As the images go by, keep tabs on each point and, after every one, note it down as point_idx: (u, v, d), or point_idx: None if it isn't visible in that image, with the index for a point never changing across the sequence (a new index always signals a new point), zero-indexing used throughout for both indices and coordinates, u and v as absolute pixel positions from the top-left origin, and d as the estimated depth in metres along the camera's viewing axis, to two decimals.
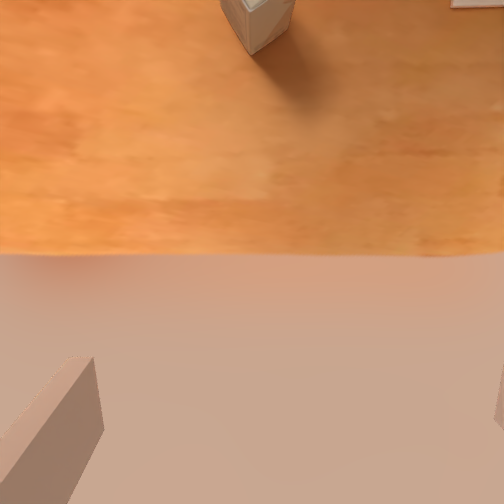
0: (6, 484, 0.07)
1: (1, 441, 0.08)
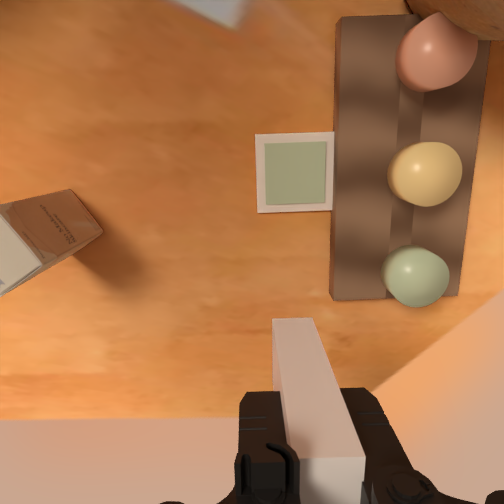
0: None
1: (282, 371, 0.11)
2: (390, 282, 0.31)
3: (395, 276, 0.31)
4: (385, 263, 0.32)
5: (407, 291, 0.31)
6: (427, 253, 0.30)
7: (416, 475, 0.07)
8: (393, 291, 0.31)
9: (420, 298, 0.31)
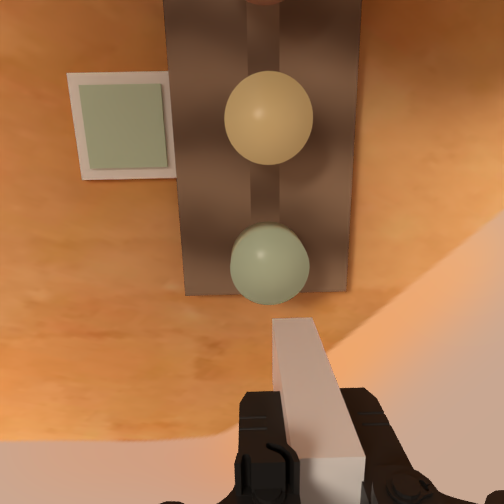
0: None
1: (283, 371, 0.11)
2: (230, 271, 0.23)
3: (235, 262, 0.23)
4: (233, 246, 0.24)
5: (254, 283, 0.23)
6: (276, 231, 0.22)
7: (416, 475, 0.07)
8: (235, 283, 0.23)
9: (272, 293, 0.23)
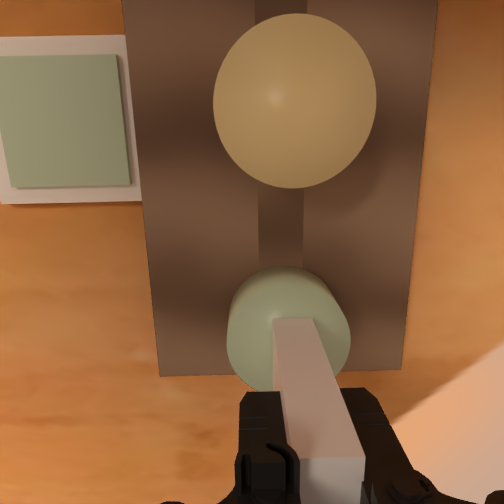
0: None
1: (283, 371, 0.11)
2: (227, 347, 0.15)
3: (235, 335, 0.14)
4: (232, 303, 0.16)
5: (263, 365, 0.15)
6: (299, 288, 0.14)
7: (416, 475, 0.07)
8: (234, 365, 0.15)
9: None
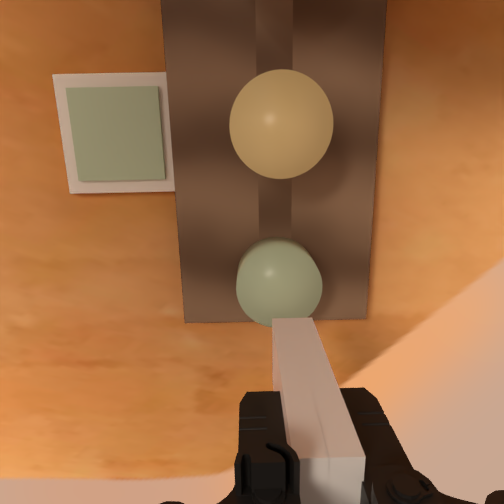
0: None
1: (282, 371, 0.11)
2: (236, 290, 0.21)
3: (242, 282, 0.21)
4: (239, 263, 0.23)
5: (262, 304, 0.21)
6: (286, 248, 0.20)
7: (416, 475, 0.07)
8: (241, 304, 0.21)
9: (281, 315, 0.21)
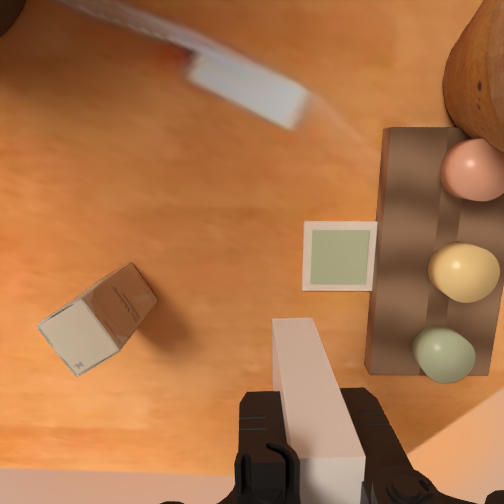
0: None
1: (282, 371, 0.11)
2: (422, 360, 0.34)
3: (427, 355, 0.34)
4: (416, 340, 0.36)
5: (437, 369, 0.34)
6: (456, 337, 0.34)
7: (416, 475, 0.07)
8: (424, 368, 0.34)
9: (448, 376, 0.35)
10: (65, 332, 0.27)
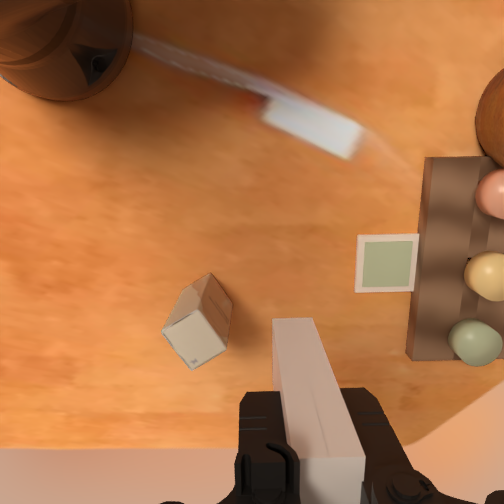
0: None
1: (283, 371, 0.11)
2: (458, 348, 0.42)
3: (463, 344, 0.42)
4: (452, 331, 0.43)
5: (471, 354, 0.42)
6: (487, 328, 0.41)
7: (416, 475, 0.07)
8: (460, 354, 0.42)
9: (480, 360, 0.42)
10: (184, 336, 0.34)
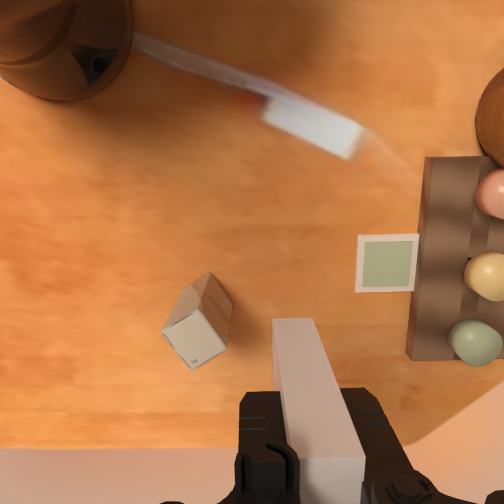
0: None
1: (283, 371, 0.11)
2: (458, 348, 0.42)
3: (463, 344, 0.42)
4: (452, 331, 0.43)
5: (471, 354, 0.42)
6: (487, 328, 0.41)
7: (416, 475, 0.07)
8: (460, 354, 0.42)
9: (480, 360, 0.42)
10: (184, 336, 0.34)
